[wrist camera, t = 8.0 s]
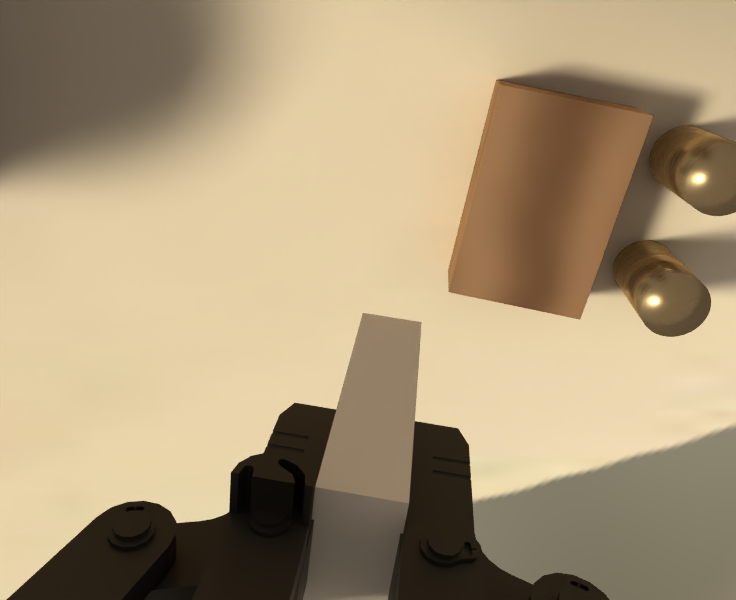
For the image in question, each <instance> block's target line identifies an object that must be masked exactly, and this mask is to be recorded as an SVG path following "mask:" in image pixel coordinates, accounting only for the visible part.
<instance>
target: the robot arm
mask: <svg viewBox="0 0 736 600" xmlns="http://www.w3.org/2000/svg"><path fill="white" fill-rule="evenodd" d="M420 336H421V322H416V321H410V320H404V319H398V318H391V317H385V316H379V315H373V314H366V313H363V315H362V318H361V322H360V326H359V329H358V333H357V337H356V340H355V344H354V347H353V351H352V355H351V358H350V362H349V366H348V369H347V373H346V377H345V380H344V384H343V388H342V391H341V395H340V399H339V402H338V406H337V409H336V410H335V409H329V408H323V407H317V406H311V405H305V404H299V403H294V404H293V405H291V406H290V407H289V408H288V409H286V410H285V411H284V412H283V413H281V414H280V415H279V418H278V420H277V423H276V425H275V427H274V430H273V434H272V435H271V437H270V439H269V442H268V445H267V447H266V449H265V451H264V453H263V454H258V455H254V456H250V457H249V458H247V459H245V460H243V461H241V462H240V463H238V465H237V466H236V467H235V468H234V470H233V471H232V472H231V486H230V510H229V513H227V514H225V515H223V516H220V517H217V518H215V519H211V520H205V521H198V522H185V523H176V520H175V519H174V517H173V515H172V513H171V512H170V511H169V510H167V509H166V508H164V507H163V506H161V505H160V504H156V503H151V502H146V501H137V502H126V503H123V504H120V505H117V506H114V507H112V508H110V509H108V510H107V511H105V512H104V513H102V514H101V515H99V516H98V517H96V518H95V519H94V520H93V521H92V522H91V523H90V524H89V525H88V526H87V527H85V528H84V529H83V530H82V531H81V532H80V533H79V534H78V535H77V536H76V537H75V538H73V539H72V540H71V541H70V542H69V543H68V544H67V545H66V546H65V547H64V548H63V549H61V550H60V551H59V552H58V553H57V554H56V555H55V556H54V557H53V558H52V559H51V560H49V561H48V562H47V563H46V564H45V565H44V566H43V567H42V568H41V569H40V570H39V571H37V572H36V573H35V574H34V575H33V576H32V577H31V578H30V579H29V580H28V581H27V582H25V583H24V584H23V585H22V586H21V587H20V588H19V589H18V590H17V591H16V592H15V593H13V594H12V595H11V596H10V597H9V598H8V599H7V600H609V599H608V598H607V596H606V595H605V594H604V593H603V592H602V591H600V590H599V589H598V588H597V587H595V586H594V585H593V584H591V583H590V582H588V581H586V580H583V579H581V578H579V577H577V576H574V575H569V574H563V573H554V574H549V575H544V576H542V577H541V578H540V579H539V580H537V581H536V582H535V583H534V585H533V584H530V583H528V582H526V581H524V580H522V579H519V578H517V577H515V576H512V575H511V574H509V573H507V572H505V571H503V570H501V569H500V568H498V567H497V566H496V565H495V564H494V563H492V562H491V561H490V560H489V559H488V558H487V557H486V556H485V555H484V553H483V552H482V549H481V546H480V544H479V543H478V542H477V540H476V538H475V533H474V520H473V504H472V488H471V480H470V478H471V473H470V466H469V465H470V457H469V445H468V443H467V442H466V440H465V439H464V437H463V435H462V434H461V432H460V431H459V429H458V428H452V427H446V426H440V425H434V424H428V423H422V422H416V421H415V409H416V394H417V380H418V365H419V350H420Z"/></svg>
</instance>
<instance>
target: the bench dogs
mask: <svg viewBox="0 0 736 600" xmlns="http://www.w3.org/2000/svg"><path fill="white" fill-rule="evenodd" d="M649 162H650V170H651V172H652V175H653V176H654V178H655V179H656V180H657V181H658V182H659V183H661V184H662V185H663V186H665V187H666V188H668V189H669V190H670V191H672V192H673V193H675V194H676V195H677V196H679V197H680V198H681V199H683V200H684V201H686V202H687V203H688V204H690V205H691V206H693V207H694V208H695V209H697V210H698V211H700V212H702V213H704V214H707V215H712V216H723V215H728V214H731V213H734V212H736V142H733V141H730V140H728V139H725V138H723V137H720V136H718V135H715V134H713V133H710V132H708V131H705V130H703V129H700V128H698V127H694V126H681V127H677V128H674V129H672V130H670V131H668V132H667V133H665V134H664V135H663V136H662V137H661V138H660V139H659V140H658V141H657V142H656V144H655V145H654V147H653V149H652V151H651V155H650V160H649ZM613 274H614V278H615V281H616V282H617V284H618V285H619V287H620V288H621V290H622V291H623V293H624V294H625V296H626V297H627V299H628V300H629V302H630V303H631V305H632V306H633V308H634V309H635V311H636V312H637V313H638V315H639V316H640V318H641V319H642V321H643V322H644V324H645V325H646V326H647V327H648V328H649V329H650V330H651V331H652V332H654V333H656V334H659V335H662V336H668V337H674V336H680V335H684V334H687V333H689V332H691V331H693V330H695V329H696V328H697V327H699V326H700V325H701V324H702V323H703V321H704V320H705V319H706V317H707V316H708V314H709V311H710V307H711V297H710V294H709V291H708V290H707V288H706V287H705V286H704V285H703V284H702V283H701V282H700V281H699V280H698V279H697V278H696V277H695V276H694V275H693V274H692V273H691V272H690V271H689V270H688V269H687V268H686V267H685V266H684V265H683V264H682V263H681V262H680V261H679V260H678V259H677V258H676V257H675V256H674V255H673V254H672V253H671V252H670V251H669V250H668V249H667V248H666V247H665V246H663V245H662V244H660V243H658V242H654V241H640V242H636V243H634V244H631V245H629V246H628V247H626V248H625V249H624V250H623V251H622V252H621V253H620V254H619V255H618V257H617V259H616V261H615V263H614V268H613Z"/></svg>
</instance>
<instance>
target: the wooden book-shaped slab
mask: <svg viewBox="0 0 736 600" xmlns="http://www.w3.org/2000/svg"><path fill="white" fill-rule="evenodd" d="M652 119H653V115H651V114H648V113H646V112H644V111H641V110H639V109H637V108H634V107H630V106H625V105H620V104H615V103H610V102H605V101H600V100H595V99H590V98H585V97H580V96H575V95H570V94H565V93H560V92H555V91H550V90H545V89H540V88H535V87H530V86H525V85H520V84H515V83H510V82H505V81H500V80H496V83H495V87H494V91H493V95H492V99H491V102H490V106H489V110H488V114H487V118H486V122H485V126H484V130H483V134H482V138H481V142H480V146H479V150H478V154H477V158H476V162H475V166H474V170H473V174H472V178H471V182H470V186H469V190H468V194H467V198H466V202H465V206H464V209H463V213H462V217H461V221H460V225H459V229H458V233H457V237H456V241H455V245H454V249H453V253H452V257H451V261H450V265H449V269H448V282H449V292H451V293H456V294H461V295H466V296H470V297H475V298H480V299H485V300H490V301H494V302H499V303H504V304H509V305H513V306H518V307H523V308H528V309H533V310H537V311H542V312H547V313H552V314H556V315H561V316H566V317H571V318H576V319H580V318H581V316H582V313H583V310H584V307H585V304H586V302H587V299H588V296H589V293H590V291H591V288H592V285H593V282H594V279H595V277H596V274H597V271H598V268H599V266H600V263H601V260H602V257H603V255H604V252H605V249H606V246H607V243H608V241H609V238H610V235H611V232H612V230H613V227H614V224H615V221H616V218H617V216H618V213H619V210H620V207H621V205H622V202H623V199H624V196H625V194H626V191H627V188H628V185H629V182H630V180H631V177H632V174H633V171H634V169H635V166H636V163H637V160H638V157H639V155H640V152H641V149H642V146H643V144H644V141H645V138H646V135H647V133H648V130H649V127H650V124H651V121H652Z"/></svg>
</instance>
